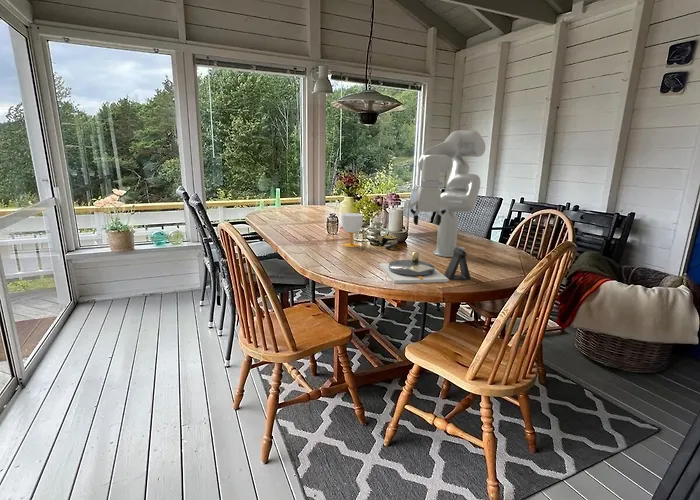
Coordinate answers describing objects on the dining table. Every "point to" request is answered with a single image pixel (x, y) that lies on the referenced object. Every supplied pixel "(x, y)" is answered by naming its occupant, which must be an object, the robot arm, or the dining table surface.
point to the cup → (351, 225)
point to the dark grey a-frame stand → (457, 259)
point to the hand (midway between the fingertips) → (426, 224)
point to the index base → (413, 279)
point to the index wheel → (412, 267)
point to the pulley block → (388, 241)
